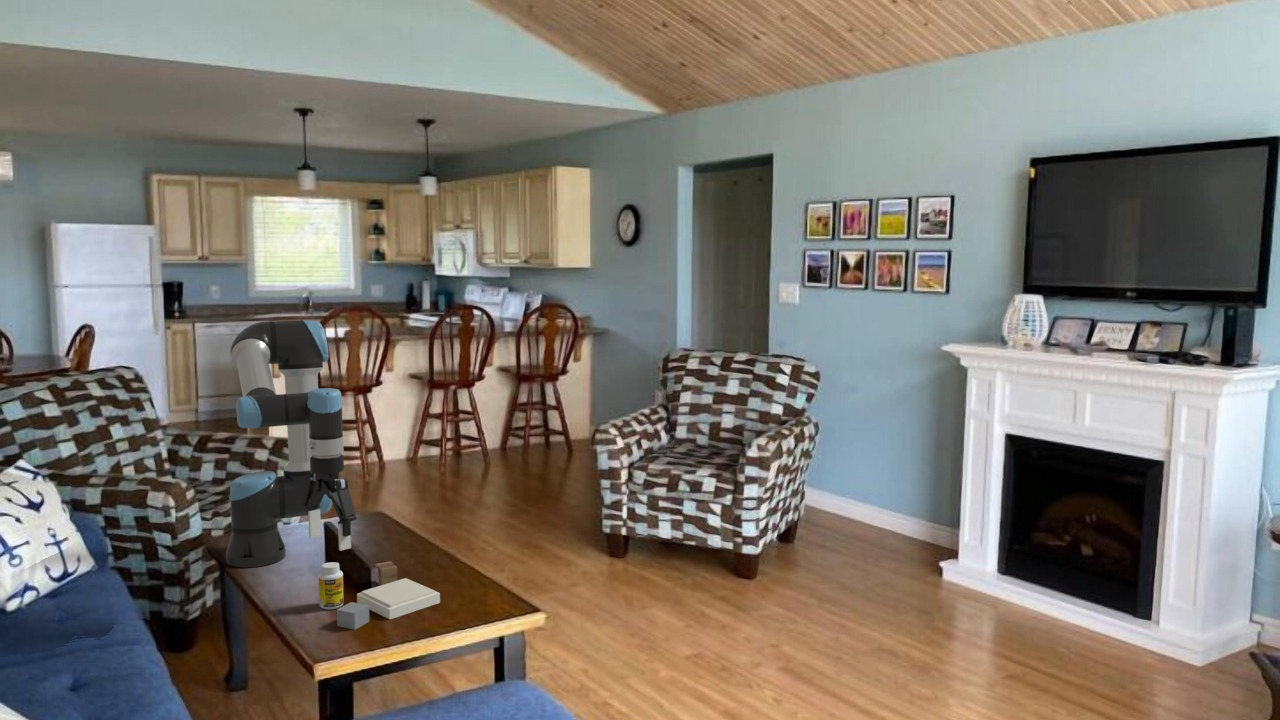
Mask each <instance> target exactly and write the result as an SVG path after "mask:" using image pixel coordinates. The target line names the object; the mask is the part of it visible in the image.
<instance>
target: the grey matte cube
mask: <svg viewBox="0 0 1280 720" xmlns="http://www.w3.org/2000/svg"><path fill="white" fill-rule="evenodd" d="M369 622H370V609H369V605H364V604H359V603H357V602H353V601H351V602H349V603H347V604H345V605H342V606H341V607H339V608H336V626H337V627H340V628H343V629H344V628H346V629H351V630H354V631H355V630H357V629H359V628H361V627H362V626H364V625H366V624H367V623H368V624H369Z"/></svg>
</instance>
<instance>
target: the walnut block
mask: <svg viewBox="0 0 1280 720" xmlns="http://www.w3.org/2000/svg"><path fill="white" fill-rule="evenodd" d="M375 567H377V568H378V572H379V582H380V586H381V585H384V584H388V583H391V582H394V581H398V566H397V565H395V564H394V562H392V561H391V560H390V561H385V562H379V563H375Z"/></svg>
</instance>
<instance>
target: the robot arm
mask: <svg viewBox="0 0 1280 720" xmlns="http://www.w3.org/2000/svg"><path fill="white" fill-rule="evenodd" d="M328 346H329V345H328V341H327V337H326V333H325V330H324V328H323V326H322V323H321V322H319V321H317V320H310V319H309V320H308V319H307V320H305V319H301V320H300V319H299V320H279V321H278V320H277V321H275V320H274V321H269V320H268V321H267V320H266V321H259V322H256V323H254V324H251V325H249V326H247V327H245V328H244V329H243V330H242V331H240V333H238V334H237V335H236V337H235V338H234V340H233V342H232V344H231V347H230V357H231V362H232V364H233V365H234V367H235V368H236V369H237V372H238V378H239V383H240V389H241V393H242V396H240V397H237V399H236V401H235V402H236V403H235V405H236V406H235V407H236V418H237V419H236V421H237V425H238V426H239V428H241V429H259V428H260V429H261V428H270V427H271V428H272V427H282V426H283V427H284V426H286V427H287V428H286V429H287V444H288V445H287V447H288V449H287V450H288V463H287V464H286V466H284V467H283V475H279V476H277V474H276V473H275V471H272V470H266V471H265V470H261V471H255V472H250V473H246V474H243V475H241V476H239V477H236V478H235V479H233V481H232V482H231V483H230V486H229V487H230V488H229V497H228V498H229V501H230V520H231V523H230V524H231V525H230V526H231V535H230V538H229V541H228V545H227V549H226V552H225V563H226V564H227V565H229V566H231V567H235V568H257V567H264V566H269V565H272V564H276V563H278V562H280V561H281V560H283V559H284V558H286V556H287V555H286V546H285V543H284V540H283V539H282V538H283V537H282V536H281V534H280V531H279V527H278V526H279V525H278V523H279V522H278V520H281V519H290V518H296V517H305V516H306V517H307V516H308V535H309V539H313V538H318V537H322V523H321V522H322V521H321V519H322V518H321V517H322V516H321V514H327V513H328V512H330V510H331V508H332V506H333V507H334V510H335V512H336V515H337V517H338V522H337V529H338V531H337V533H338V550H339V551H344V550H349V549H351V548H352V527H351V526H352V525H351V522H352V521H356V520H357V515H356V511H355V508H354V503H353V500H352V496H351V493H350V489H349V481H348V479H347V478H341V477H340V473H341V472H343V471H344V470H345V461H344V460H345V459H344V458H345V457H344V455H343V453H344V433H343V432H344V431H343V404H344V403H343V400H342V392H341V391H340V390H339V389H337V388H333V387H330V388H329V387H325V388H324V387H322V388H319V377H318V375H319V373H320V372H321V371H322V370H323V369H324V363H326V362H327V361H328V360H329V347H328ZM270 365H277V366H278V368H277V369H278V372H280V373H281V374H282V376H283V377H284V388H285V389H284V390H285V393H282V394H277V392H276V388H275V384H274V379H273V376H272V372H271V368H270Z"/></svg>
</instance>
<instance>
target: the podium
mask: <svg viewBox="0 0 1280 720" xmlns="http://www.w3.org/2000/svg"><path fill="white" fill-rule="evenodd" d="M356 603H359V604H364V605H369V611H372V612H374V613H375V614H378V615H380V616H382V617H384V618H386V619H387V620H393V619H396V618H399V617H402V616H404V615H405V616H406V615H407V614H410V613H413V612H416V611H419V610H422V609H425V608H428V607H432V606H433V605H434V606H435V605H438V604H440V603H441V592H438V591H436V590H434V589H432V588H429V587H428V586H425V585H422V584H421V583H418V582H416V581H415V580H414V581H413V580H411V579H408V578H407V577H405V578H401V579H397V581H394V582H391V583H388V584H384V585H381V586H379V585H378V586H373V587H372V588H368V589H365V590H361V592H359V593H357V594H356Z"/></svg>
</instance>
